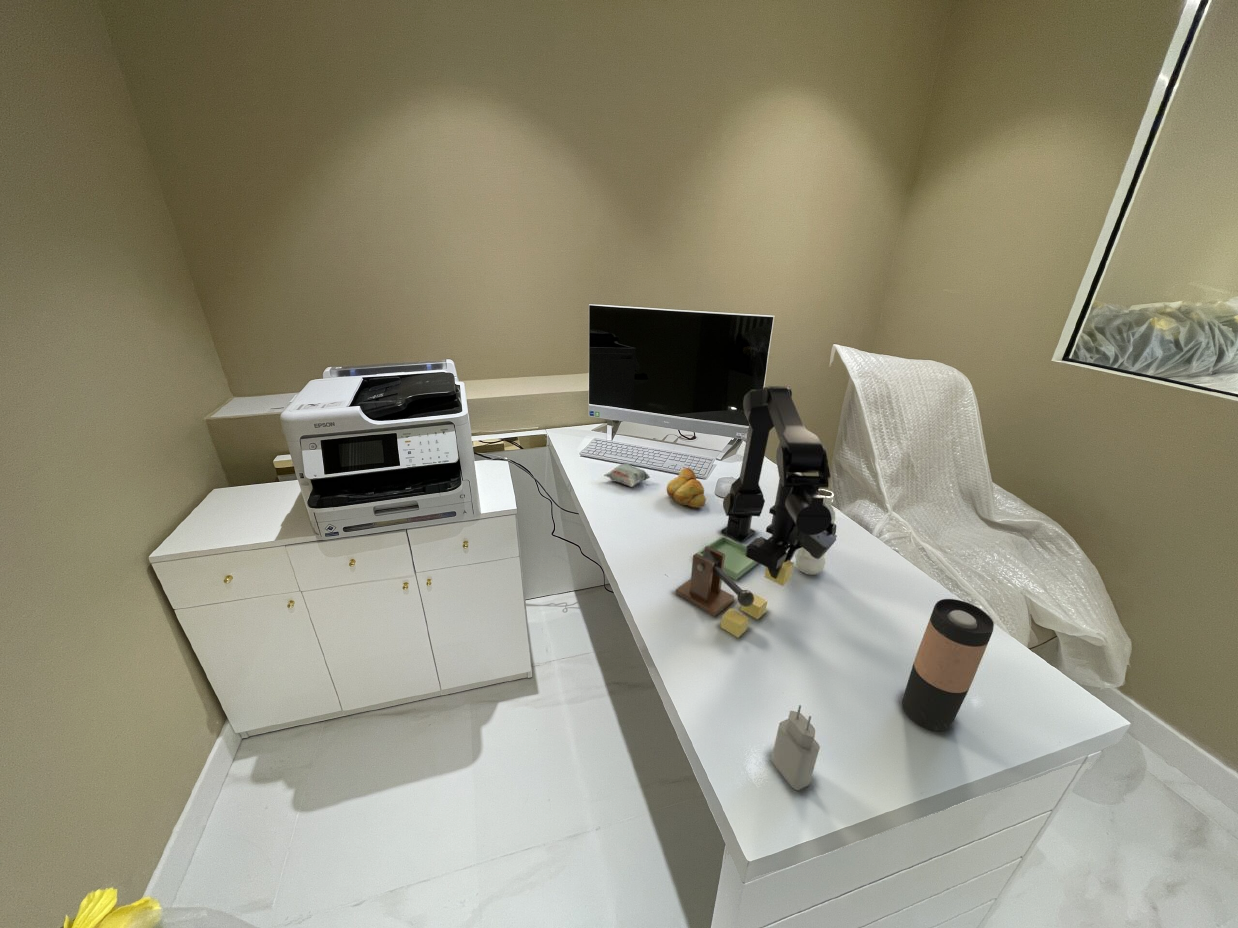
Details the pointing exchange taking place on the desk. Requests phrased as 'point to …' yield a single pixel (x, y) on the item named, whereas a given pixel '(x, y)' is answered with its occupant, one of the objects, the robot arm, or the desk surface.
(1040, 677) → the desk surface
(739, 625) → the butter
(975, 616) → the travel mug
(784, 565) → the block
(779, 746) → the power adapter
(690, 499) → the bread roll
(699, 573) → the brown lever stand
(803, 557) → the plastic bottle
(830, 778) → the desk surface
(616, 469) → the packaged food
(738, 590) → the ball knob lever
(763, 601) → the butter
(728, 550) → the tray
